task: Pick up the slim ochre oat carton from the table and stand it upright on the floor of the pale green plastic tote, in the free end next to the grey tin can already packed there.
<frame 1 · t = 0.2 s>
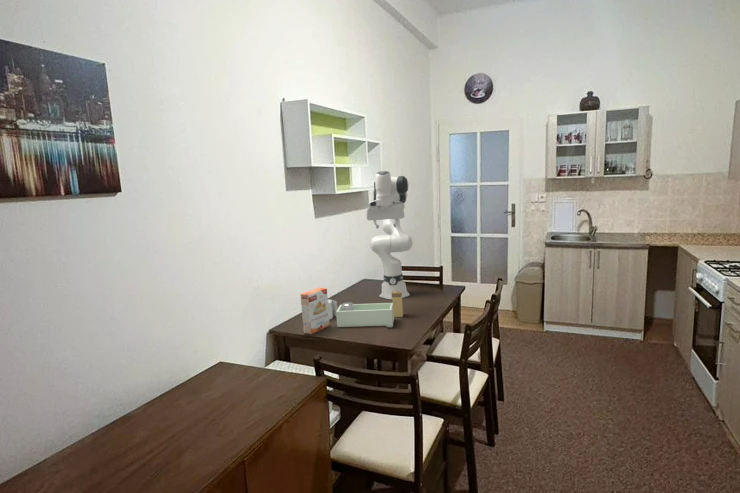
hand: (386, 227, 238), 47 cm above the table, fingers open, 8 cm apart
oat carton: (398, 315, 238), on the table
tin can: (348, 322, 229), point 1 cm above the table, touching tote
cracker box: (317, 331, 223), on the table
tote: (366, 323, 228), on the table
toilet tissue: (324, 319, 241), on the table
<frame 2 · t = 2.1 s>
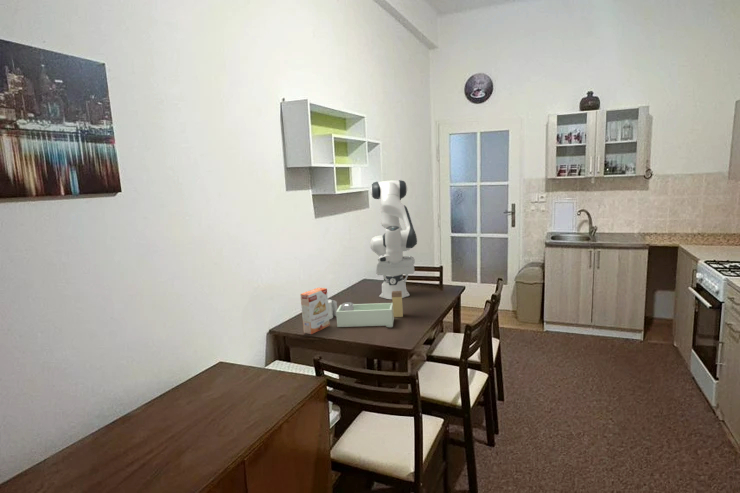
hand: (396, 282, 235), 18 cm above the table, fingers open, 8 cm apart
nothing on the table moved.
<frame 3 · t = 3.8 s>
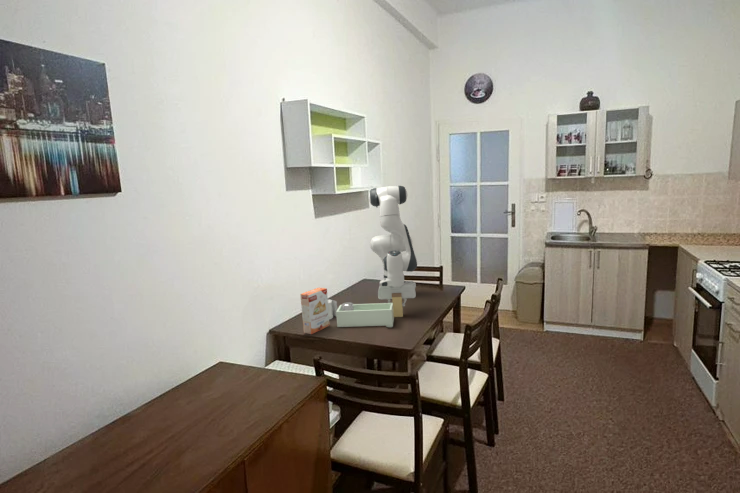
hand: (397, 306, 237), 5 cm above the table, fingers closed on oat carton, 5 cm apart
oat carton: (398, 315, 238), on the table, touching gripper
everything else where it was.
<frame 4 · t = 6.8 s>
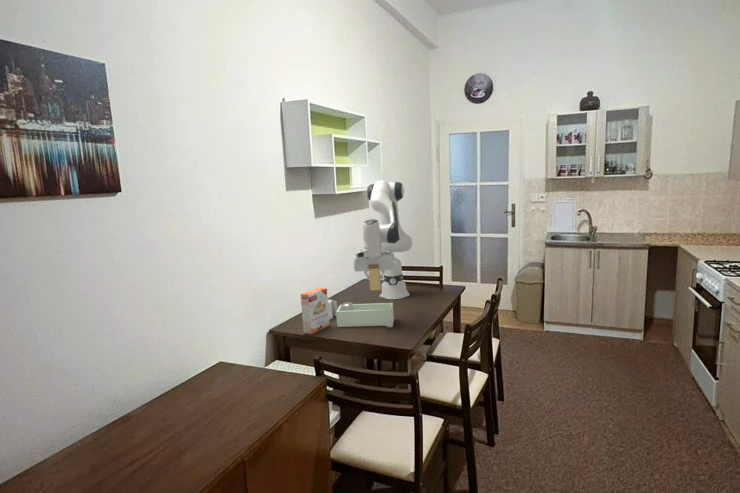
hand: (374, 279, 224), 24 cm above the table, fingers closed on oat carton, 5 cm apart
oat carton: (375, 288, 224), point 18 cm above the table, touching gripper
everything else where it was.
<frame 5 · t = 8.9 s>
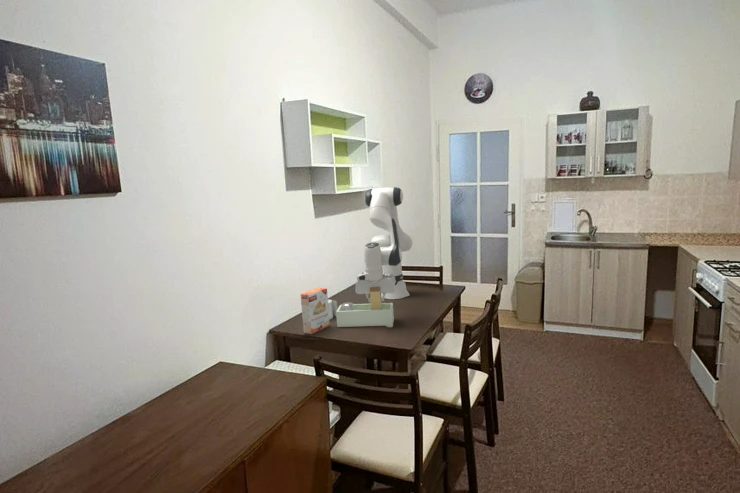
hand: (376, 301, 225), 12 cm above the table, fingers closed on oat carton, 5 cm apart
oat carton: (376, 311, 226), point 7 cm above the table, touching gripper
everything else where it was.
when the fingers open (8 cm above the table, at t = 10.2 s): oat carton drops 1 cm, resting on tote.
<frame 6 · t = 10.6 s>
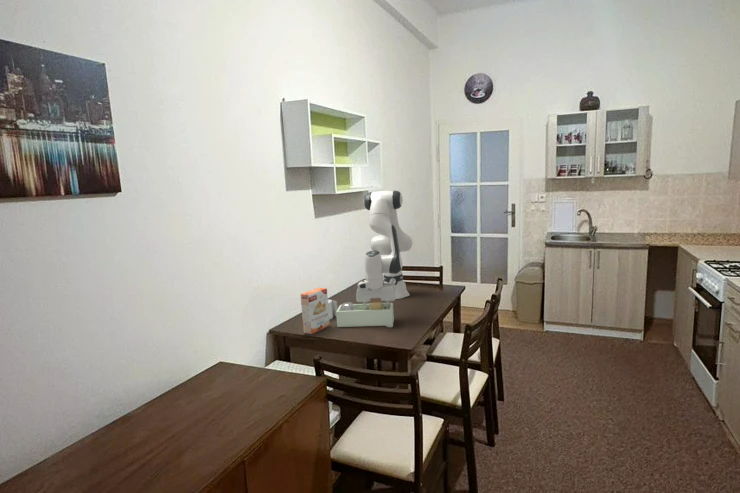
hand: (376, 309, 226), 8 cm above the table, fingers open, 8 cm apart
oat carton: (377, 321, 227), point 1 cm above the table, touching tote
everything else where it was.
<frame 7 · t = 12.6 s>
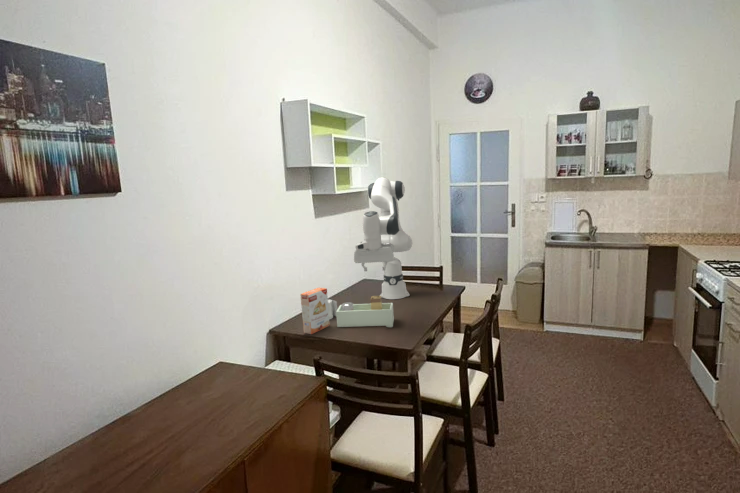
hand: (374, 270, 225), 27 cm above the table, fingers open, 8 cm apart
nothing on the table moved.
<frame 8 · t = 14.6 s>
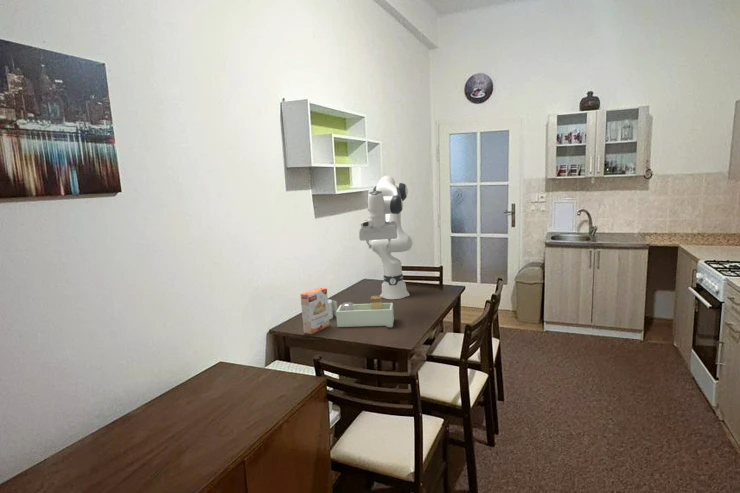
hand: (379, 247, 235), 37 cm above the table, fingers open, 8 cm apart
nothing on the table moved.
at the end: oat carton inside the target area on the tote (0.2 cm from its centre), point 1.0 cm above the tote's base; oat carton tilted 0°; the gripper is holding nothing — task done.
